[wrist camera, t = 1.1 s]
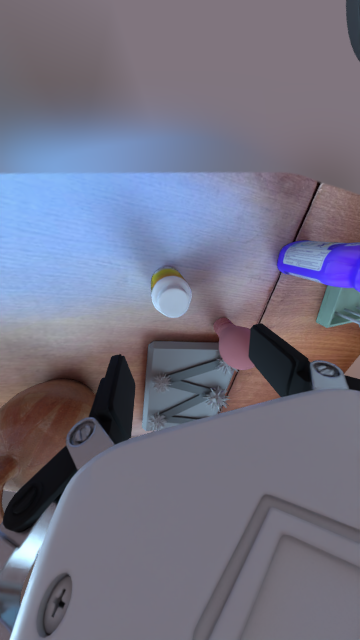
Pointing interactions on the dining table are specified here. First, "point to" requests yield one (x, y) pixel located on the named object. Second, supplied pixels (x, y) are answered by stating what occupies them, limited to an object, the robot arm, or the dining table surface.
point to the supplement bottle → (170, 292)
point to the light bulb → (233, 344)
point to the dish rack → (339, 307)
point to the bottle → (322, 262)
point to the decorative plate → (183, 383)
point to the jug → (38, 428)
